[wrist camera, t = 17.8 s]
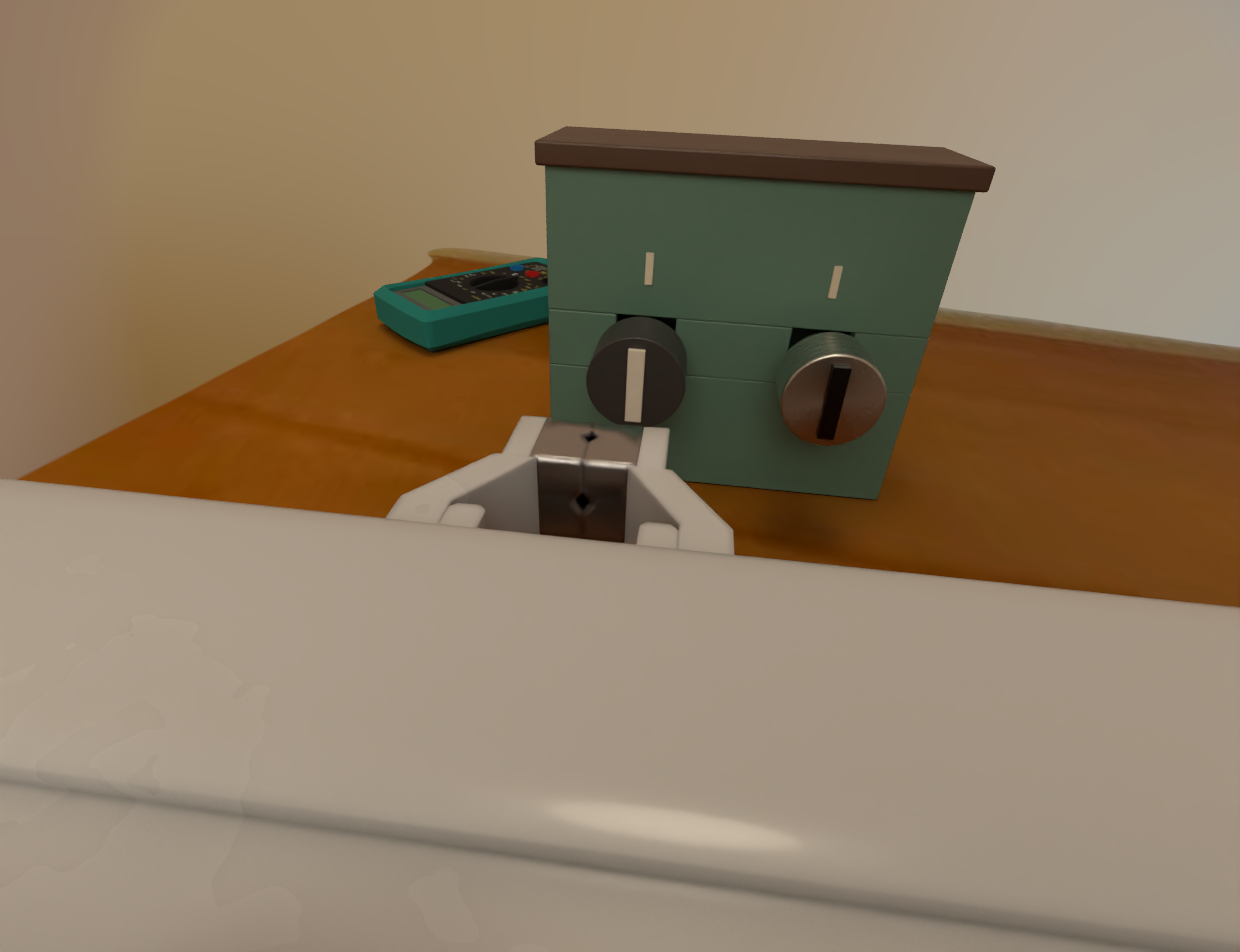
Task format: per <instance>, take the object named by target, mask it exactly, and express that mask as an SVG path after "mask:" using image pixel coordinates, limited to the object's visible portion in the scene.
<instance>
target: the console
mask: <svg viewBox="0 0 1240 952" xmlns="http://www.w3.org/2000/svg"><path fill="white" fill-rule="evenodd" d="M535 163H536V164H537V165H544V166H545V176H546V177H545V179H546V180H545V181H546V219H547V220H546V222H547V223H546V224H547V267H548V307H549V348H550V396H551V418H555V419H564V420H574V421H583V422H592V423H603V424H615V423H613V422H611V421H609V420H608V419H607V418H605V417H604V416H603V415H602V414H600V413H599V411H598V410H597V409H596V408H595V406H594V405H593V403H592V402H591V400H590V398H589V395H588V392H587V387H586V375H587V370H588V367H589V364H590V362H591V359H592V357H593V354H594V352H595V349H596V347H597V344H598V342H599V340H600V338H601V336H602V335H603V334H604V332H605V331H606V330H607V329H608V328H609V327H611V326H612V325H613V324H615V323H617V322H618V321H621V320H623V319H626V318H630V317H649V318H653V319H656V320H658V321H661V322H663V323H664V324H666V325H668V326H669V327H670V328H672V329H673V330H674V331H675V332H676V333H677V335H678V336H679V337H680V339H681V341H682V342H683V344H684V347H685V350H686V354H687V372H686V385H685V393H684V397H683V400H682V402H681V404H680V406H679V407H678V409H677V410H676V411H675V413H674V414H673V415H672V416H670V417H669V418H668V419H667V420H665V421H664V422H662V423H660V424H658V425H655V426H652V427H660V428H669V429H670V434H669V445H668V456H667V467H666V469H668V470H673V471H674V472H675V473H676V474H677V475H678V476H679V477H680V478H681V479H682V480H683V481H690V482H700V483H711V484H721V485H731V486H741V487H751V488H761V489H771V490H782V491H792V492H802V493H812V494H822V495H832V496H843V497H853V498H863V499H873V500H877V498H878V495H879V492H880V489H881V486H882V482H883V479H884V476H885V473H886V470H887V467H888V464H889V461H890V457H891V454H892V451H893V448H894V445H895V442H896V439H897V436H898V433H899V429H900V426H901V423H902V420H903V417H904V414H905V411H906V408H907V404H908V401H909V398H910V394H911V392H912V389H913V386H914V383H915V379H916V376H917V373H918V370H919V367H920V364H921V361H922V358H923V355H924V351H925V348H926V345H927V342H928V338H929V336H930V333H931V330H932V326H933V323H934V320H935V317H936V314H937V311H938V308H939V305H940V301H941V298H942V295H943V292H944V289H945V286H946V283H947V280H948V276H949V273H950V270H951V267H952V264H953V261H954V258H955V255H956V251H957V248H958V245H959V242H960V239H961V236H962V233H963V229H964V226H965V223H966V220H967V217H968V214H969V211H970V208H971V205H972V201H973V198H974V195H975V192H987V191H988V190H989V187H990V184H991V181H992V178H993V175H994V172H995V167H993V166H991V165H988V164H986V163H983V162H980V161H978V160H975V159H972V158H970V157H967V156H965V155H962V154H959V153H957V152H954V151H952V150H949V149H946V148H943V147H925V146H906V145H889V144H872V143H871V144H870V143H854V142H834V141H818V140H800V139H782V138H764V137H747V136H729V135H728V136H727V135H711V134H692V133H675V132H656V131H639V130H620V129H604V128H585V127H568V126H566V127H564V128H562V129H560V130H558V131H555V132H553V133H551V134H549V135H547V136H545V137H542V138H540V139H538V140H536V141H535ZM824 332H837V333H843V334H846V335H849V336H851V337H854V338H855V339H857V340H859V341H860V342H861V343H862V344H863V345H864V346H865V347H866V348H867V350H868V351H869V353H870V354H871V356H872V358H873V360H874V362H875V364H876V366H877V367H878V369H879V371H880V373H881V375H882V377H883V379H884V381H885V385H886V393H887V395H886V403H885V407H884V409H883V412H882V414H881V416H880V418H879V419H878V420H877V422H876V423H875V424H874V425H873V427H872V428H871V429H869V430H868V431H867V432H866V433H865V434H863V435H862V436H860V437H858V438H856V439H855V440H852V441H850V442H847V443H844V444H839V445H831V446H824V445H816V444H812V443H809V442H806V441H804V440H802V439H800V438H799V437H797V436H796V435H795V434H793V433H792V432H791V431H790V430H789V428H788V427H787V426H786V424H785V422H784V420H783V418H782V415H781V410H780V405H779V400H778V395H777V389H776V372H777V369H778V366H779V363H780V361H781V360H782V358H783V356H784V355H785V354H786V352H787V351H788V350H789V349H790V348H791V347H792V346H794V345H795V344H796V343H797V342H799V341H801V340H802V339H803V338H804V337H805V336H807V335H809V334H812V333H824Z"/></svg>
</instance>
